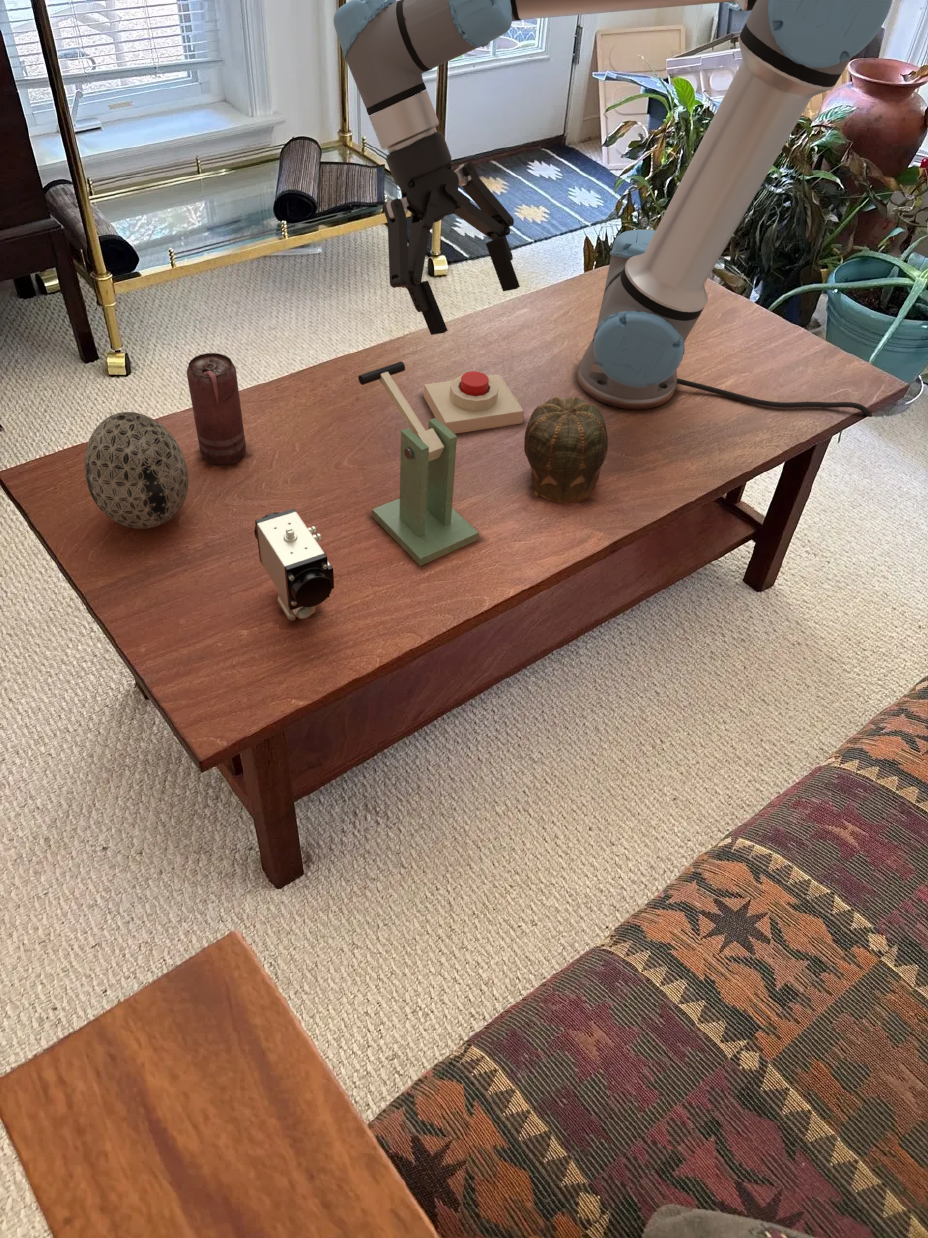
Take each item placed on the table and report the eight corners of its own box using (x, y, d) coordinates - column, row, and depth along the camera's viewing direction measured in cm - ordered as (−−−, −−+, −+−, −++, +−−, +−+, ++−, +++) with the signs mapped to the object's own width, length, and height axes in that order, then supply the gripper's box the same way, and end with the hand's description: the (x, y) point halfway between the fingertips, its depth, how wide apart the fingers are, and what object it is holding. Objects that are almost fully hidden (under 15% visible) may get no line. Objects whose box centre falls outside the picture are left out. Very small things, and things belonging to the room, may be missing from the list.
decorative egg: (124, 562, 114) (97, 462, 103) (83, 510, 120) (54, 410, 109) (212, 526, 120) (195, 427, 109) (169, 477, 125) (149, 379, 115)
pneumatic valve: (298, 647, 107) (291, 570, 98) (259, 582, 113) (248, 504, 105) (343, 631, 109) (340, 554, 100) (301, 568, 115) (295, 490, 107)
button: (482, 379, 140) (483, 369, 138) (491, 394, 137) (492, 384, 136) (456, 383, 139) (457, 372, 137) (465, 398, 136) (466, 388, 135)
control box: (498, 386, 145) (500, 363, 142) (522, 423, 139) (525, 400, 136) (423, 396, 142) (424, 373, 139) (444, 435, 136) (446, 411, 133)
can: (209, 472, 127) (194, 382, 117) (195, 446, 130) (179, 356, 120) (253, 461, 129) (242, 372, 119) (238, 436, 133) (226, 346, 122)
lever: (356, 382, 114) (360, 369, 112) (397, 368, 117) (402, 356, 115) (410, 468, 112) (416, 457, 110) (452, 452, 114) (457, 441, 112)
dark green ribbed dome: (572, 450, 135) (585, 377, 126) (613, 496, 129) (630, 422, 120) (505, 468, 131) (514, 394, 123) (544, 516, 125) (556, 441, 116)
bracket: (372, 516, 123) (371, 421, 112) (429, 493, 127) (433, 398, 116) (420, 566, 117) (424, 470, 106) (478, 540, 121) (487, 445, 110)
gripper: (464, 115, 122) (521, 275, 132) (317, 184, 111) (390, 354, 121) (502, 99, 117) (558, 268, 126) (350, 170, 106) (424, 350, 115)
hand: (476, 310), depth 124 cm, fingers open, 13 cm apart
